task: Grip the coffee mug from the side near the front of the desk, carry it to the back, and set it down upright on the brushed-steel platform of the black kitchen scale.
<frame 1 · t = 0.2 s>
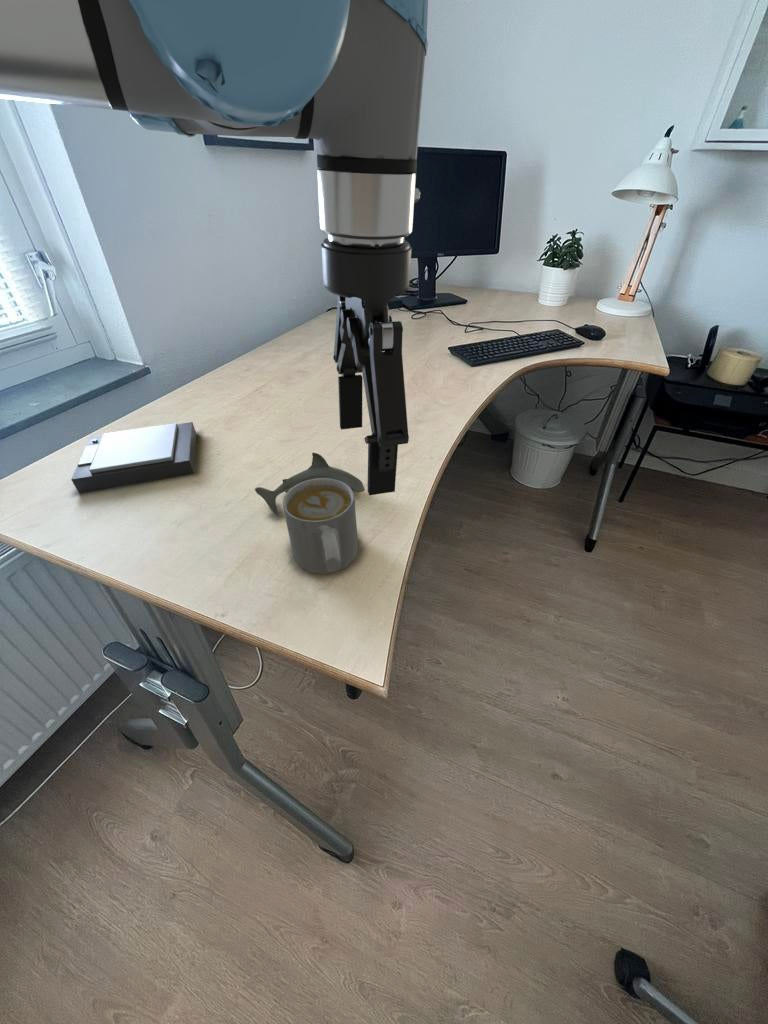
hand: (364, 456, 49), 20 cm above the table, tool pointing down, fingers open, 13 cm apart
shark figurine: (320, 494, 78), on the table
scale: (143, 460, 87), on the table
coffee mug: (325, 558, 65), on the table
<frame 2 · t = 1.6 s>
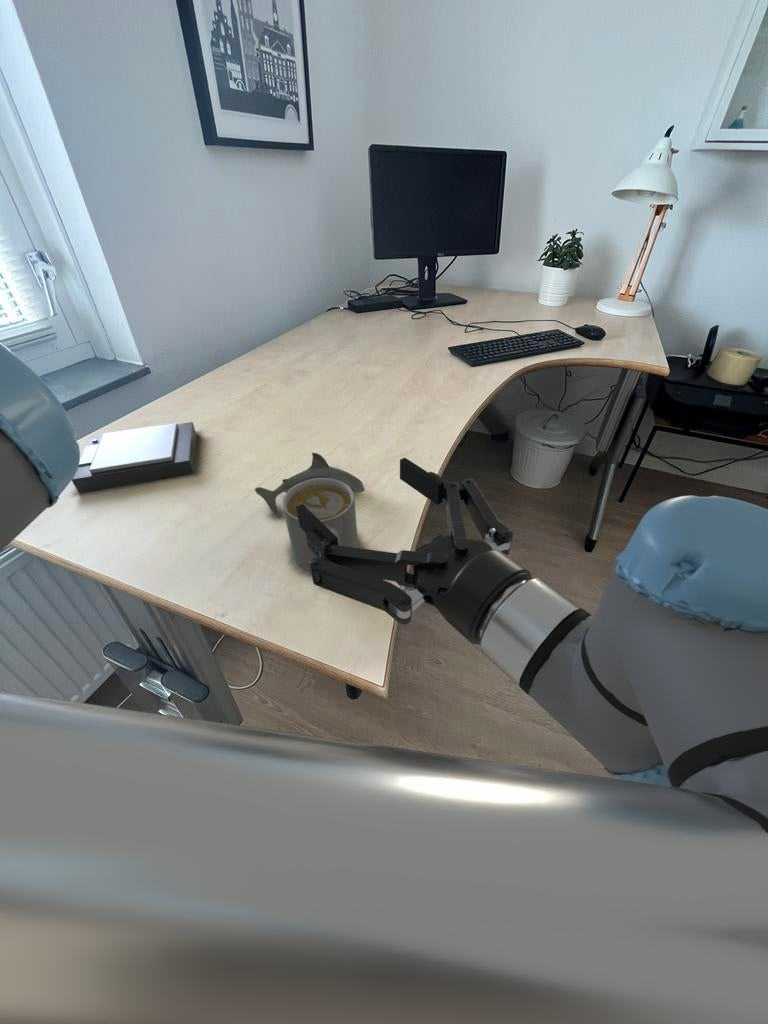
hand: (354, 490, 48), 18 cm above the table, tool horizontal, fingers open, 13 cm apart
nothing on the table moved.
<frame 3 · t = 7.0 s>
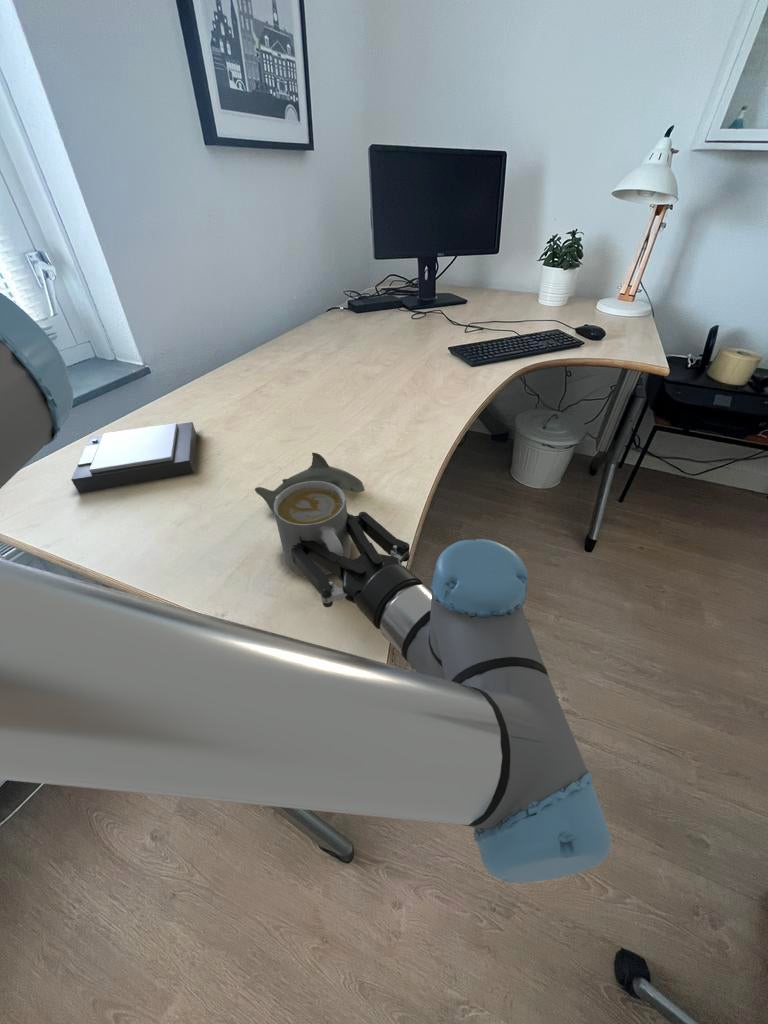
hand: (303, 509, 65), 6 cm above the table, tool horizontal, fingers closed on coffee mug, 5 cm apart
coffee mug: (320, 561, 65), on the table, touching gripper
everything else where it was.
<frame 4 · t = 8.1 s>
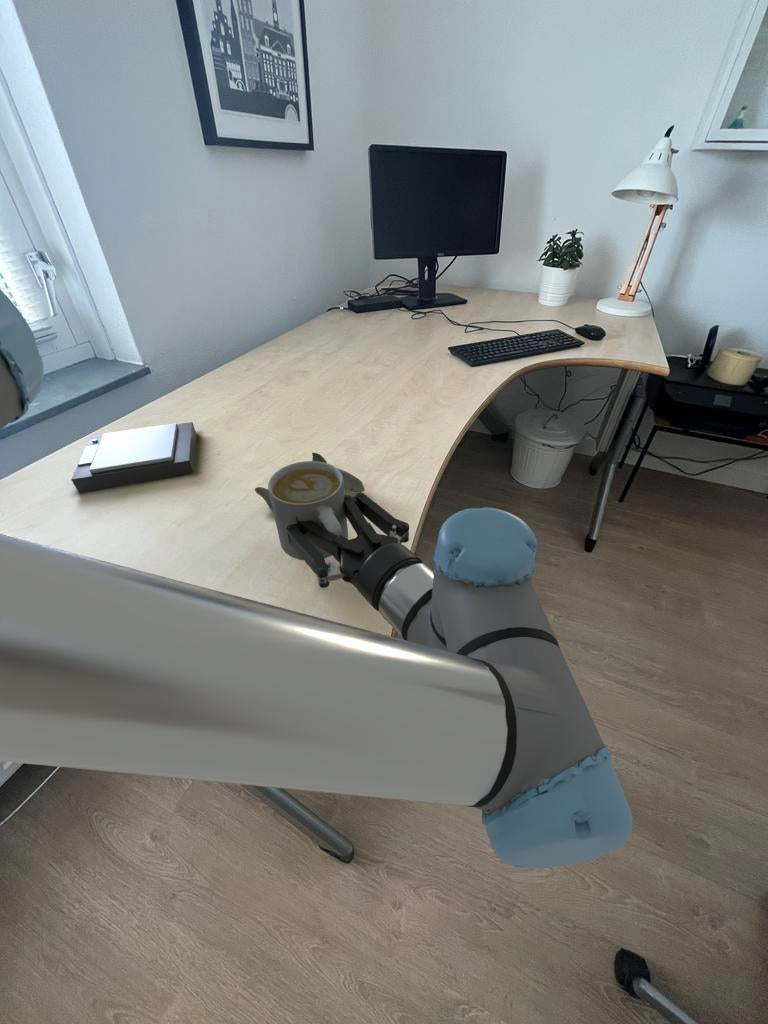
hand: (299, 490, 62), 10 cm above the table, tool horizontal, fingers closed on coffee mug, 4 cm apart
coffee mug: (317, 545, 63), point 3 cm above the table, touching gripper
everything else where it was.
when the fingers open (10 cm above the table, at t = 17.9 s): coffee mug stays where it is, resting on scale.
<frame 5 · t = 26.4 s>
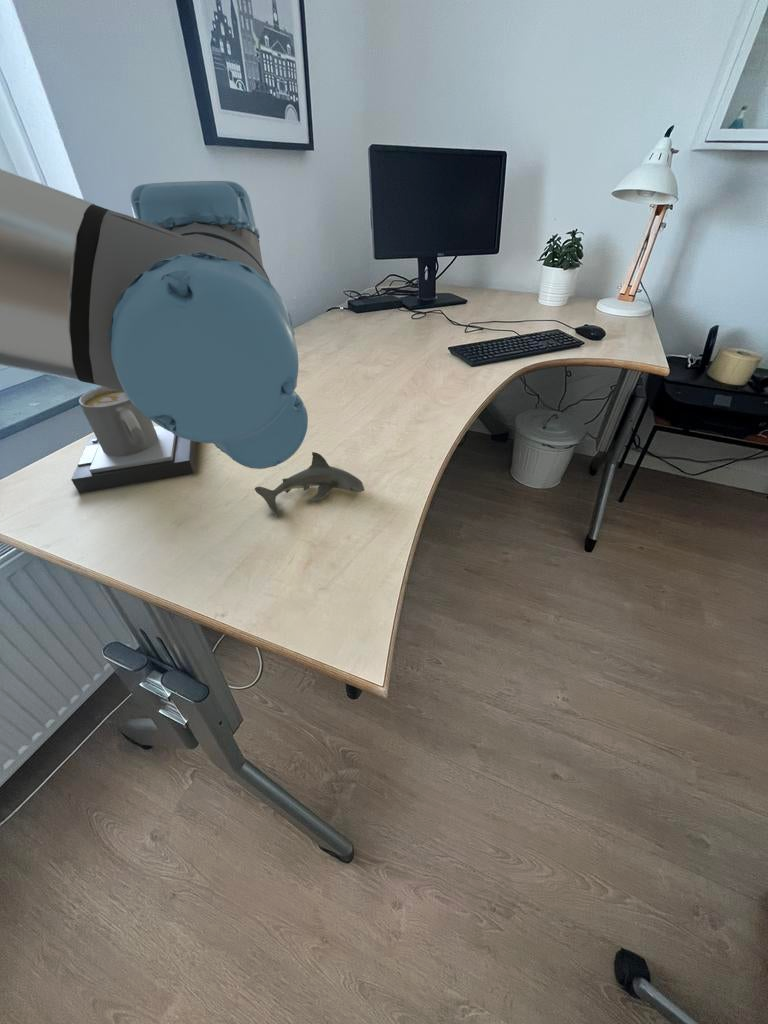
hand: (145, 325, 57), 30 cm above the table, tool horizontal, fingers open, 13 cm apart
coffee mug: (132, 447, 84), point 4 cm above the table, touching scale
everything else where it was.
at the end: coffee mug inside the target area on the scale (0.8 cm from its centre), point 3.6 cm above the scale's base; coffee mug tilted 0°; the gripper is holding nothing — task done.
